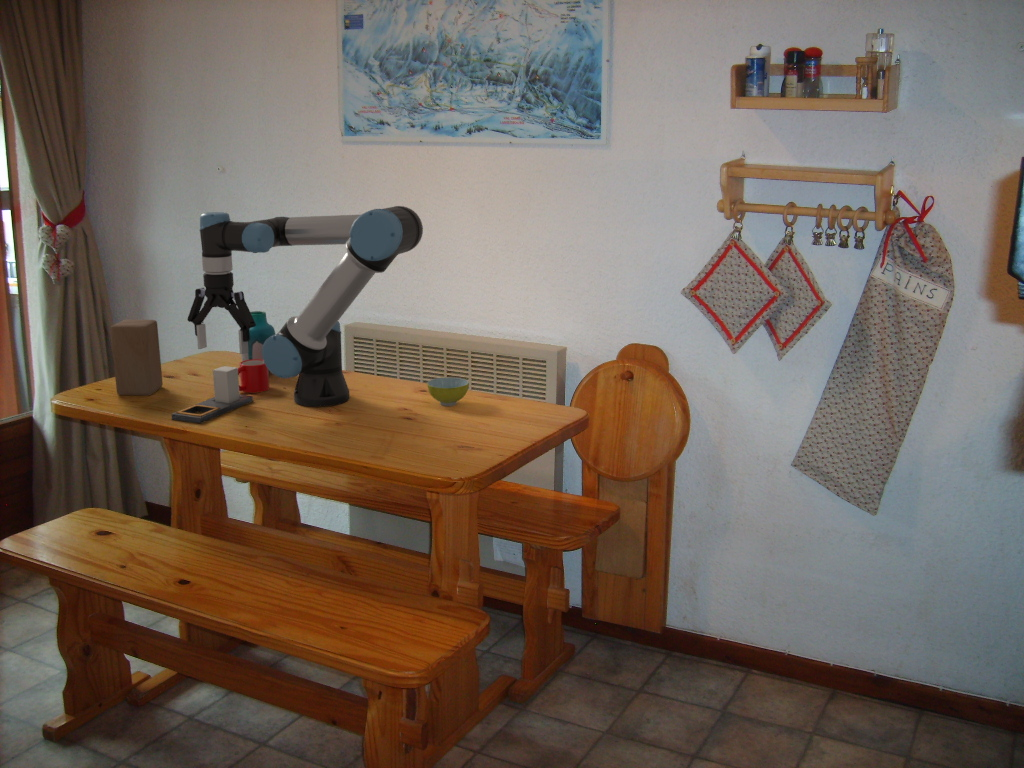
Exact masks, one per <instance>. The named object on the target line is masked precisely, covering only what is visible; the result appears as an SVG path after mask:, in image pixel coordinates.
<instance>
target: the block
mask: <svg viewBox="0 0 1024 768" xmlns="http://www.w3.org/2000/svg"><path fill="white" fill-rule="evenodd" d="M110 337H111V339H110V340H111V350H112V357H113V366H114V368H113V369H114V378H115V379H114V380H115V388H116V393H117V395H119V396H151V395H152V394H154V393H156V392H157V391H158V390H159V389H161V388H163V372H162V361H161V352H160V339H159V329H158V321H157V320H155V319H129V318H127V319H124V320H120V321H119V322H117V323H114V324H112V325H111V326H110Z"/></svg>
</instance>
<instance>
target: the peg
mask: <svg viewBox="0 0 1024 768" xmlns="http://www.w3.org/2000/svg"><path fill="white" fill-rule="evenodd" d="M238 368H239V367H234V366H227V365H226V366H225V365H224V366H220V367H217V368H214V369H213V370H212V374H213V375H212V376H213V389H214V390H213V391H214V397H215V401H217V402H224V403H232V402H234V401H236V400H239V399H240V395H241V394H240V391H239V386H240V383H239V382H240V381H239V375H238Z"/></svg>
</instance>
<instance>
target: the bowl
mask: <svg viewBox="0 0 1024 768" xmlns="http://www.w3.org/2000/svg"><path fill="white" fill-rule="evenodd" d="M426 384H427V389H428V392H429V394H430V396H431V397H432V398H433V399H434V400H436V401H438V402H439V403H440V404H439V405H441V406H444V407H453V406H456V405H458V401H460V400H461V399H463V398H464V396H466V394H467V393H468V391H469V386H470V381H469V380H467V379H465V378H460V377H438V378H433V379H430V380H428V381H427V383H426Z"/></svg>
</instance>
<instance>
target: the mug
mask: <svg viewBox="0 0 1024 768" xmlns="http://www.w3.org/2000/svg"><path fill="white" fill-rule="evenodd" d="M237 368H238V376H239V375H240V376H239V377H240V378H239V379H240V385H239V392H242V393H243V392H244V393H263V392H266V391H268V390H269V389H270V376H269V374H270V373H268V368H267V367H266V365H265V363H264V361H263V360H261V359H252V360H245V361H242V360H241V362H239V367H237ZM262 391H263V392H262Z"/></svg>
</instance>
